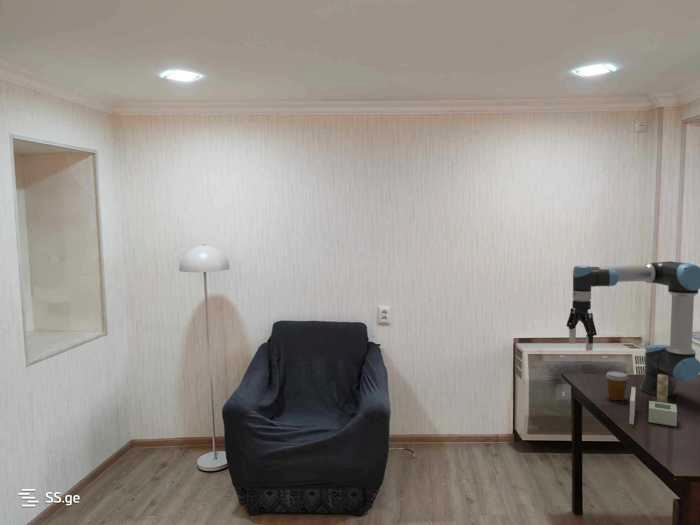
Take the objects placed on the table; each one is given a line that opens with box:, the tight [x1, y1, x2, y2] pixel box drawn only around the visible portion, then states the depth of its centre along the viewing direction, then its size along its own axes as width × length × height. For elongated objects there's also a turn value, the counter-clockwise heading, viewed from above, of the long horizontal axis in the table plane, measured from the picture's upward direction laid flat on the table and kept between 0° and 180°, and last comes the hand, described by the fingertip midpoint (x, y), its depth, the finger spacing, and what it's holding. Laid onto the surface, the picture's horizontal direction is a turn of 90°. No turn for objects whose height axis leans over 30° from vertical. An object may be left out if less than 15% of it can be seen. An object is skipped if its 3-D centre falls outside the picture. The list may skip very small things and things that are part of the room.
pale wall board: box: [628, 386, 637, 425], centre depth 227 cm, size 2×20×10 cm, turn 150°
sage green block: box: [648, 400, 678, 427], centre depth 221 cm, size 10×10×6 cm
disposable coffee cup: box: [605, 370, 629, 401], centre depth 249 cm, size 10×10×12 cm
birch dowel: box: [656, 374, 669, 403], centre depth 232 cm, size 4×4×16 cm
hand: (580, 346), depth 237 cm, fingers open, 13 cm apart
